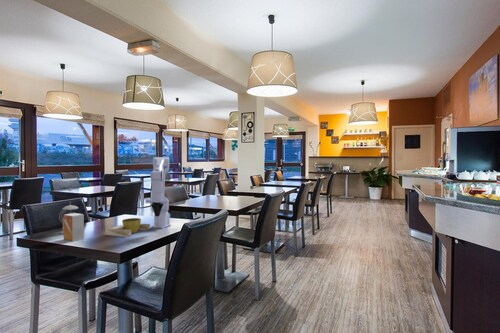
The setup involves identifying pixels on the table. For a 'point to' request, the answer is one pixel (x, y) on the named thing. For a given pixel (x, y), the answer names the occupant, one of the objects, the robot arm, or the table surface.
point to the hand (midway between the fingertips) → (157, 216)
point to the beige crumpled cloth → (124, 230)
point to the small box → (73, 226)
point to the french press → (67, 209)
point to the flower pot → (131, 224)
